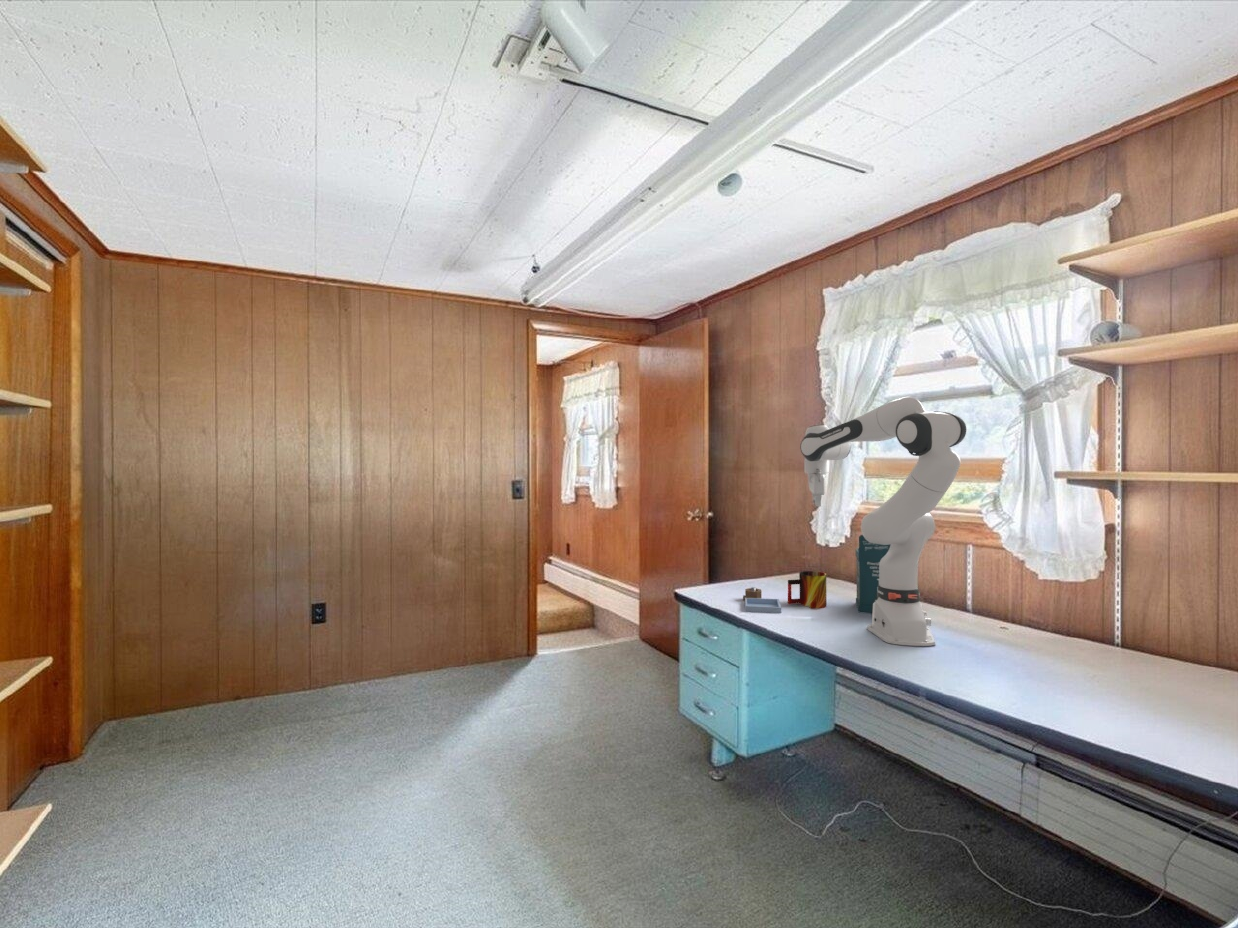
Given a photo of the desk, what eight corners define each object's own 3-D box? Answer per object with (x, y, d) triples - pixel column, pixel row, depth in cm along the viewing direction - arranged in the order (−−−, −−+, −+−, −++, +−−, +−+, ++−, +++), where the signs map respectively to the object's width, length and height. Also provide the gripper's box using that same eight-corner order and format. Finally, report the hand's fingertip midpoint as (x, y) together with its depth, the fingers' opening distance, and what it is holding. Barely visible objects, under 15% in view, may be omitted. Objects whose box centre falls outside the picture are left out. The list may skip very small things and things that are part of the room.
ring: (761, 602, 221) (761, 592, 220) (743, 601, 222) (743, 591, 222) (761, 598, 226) (760, 588, 226) (743, 597, 228) (742, 587, 228)
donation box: (859, 612, 208) (858, 534, 207) (854, 601, 223) (854, 528, 223) (908, 615, 203) (908, 535, 203) (900, 604, 218) (900, 530, 218)
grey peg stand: (763, 604, 220) (763, 590, 220) (744, 603, 221) (744, 589, 221) (762, 599, 227) (762, 586, 227) (744, 599, 228) (743, 585, 228)
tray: (781, 614, 206) (781, 607, 206) (745, 613, 208) (745, 606, 208) (778, 605, 218) (778, 598, 218) (745, 604, 220) (745, 597, 220)
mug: (787, 606, 217) (786, 574, 217) (809, 600, 225) (809, 569, 225) (808, 611, 209) (808, 578, 209) (831, 605, 217) (831, 573, 217)
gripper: (829, 469, 206) (828, 508, 206) (822, 467, 226) (822, 502, 226) (810, 469, 207) (810, 507, 208) (805, 467, 227) (805, 502, 228)
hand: (816, 505), depth 217 cm, fingers open, 8 cm apart
